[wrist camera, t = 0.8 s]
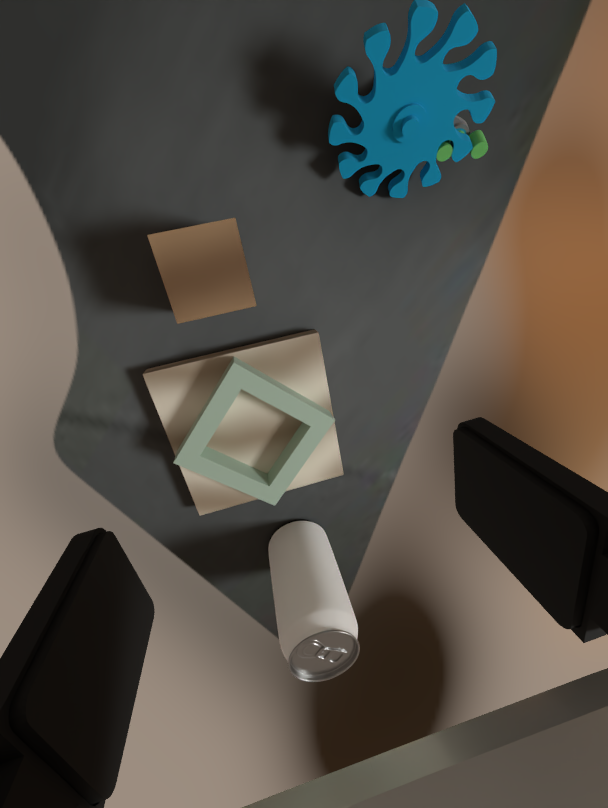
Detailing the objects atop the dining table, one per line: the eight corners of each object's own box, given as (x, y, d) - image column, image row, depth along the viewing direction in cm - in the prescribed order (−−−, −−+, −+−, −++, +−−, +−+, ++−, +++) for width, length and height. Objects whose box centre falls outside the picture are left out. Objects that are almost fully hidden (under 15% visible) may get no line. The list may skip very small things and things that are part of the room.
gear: (303, 174, 23) (395, -43, 15) (299, 123, 25) (377, -90, 17) (429, 226, 27) (555, 81, 19) (415, 178, 30) (523, 30, 21)
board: (146, 368, 27) (142, 374, 26) (314, 329, 29) (318, 332, 27) (200, 505, 33) (199, 515, 31) (339, 466, 34) (343, 474, 33)
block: (166, 242, 24) (147, 234, 19) (234, 229, 25) (235, 217, 20) (188, 312, 26) (177, 323, 21) (251, 298, 27) (256, 305, 21)
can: (288, 509, 35) (313, 618, 24) (337, 530, 37) (381, 638, 26) (256, 554, 36) (266, 677, 25) (305, 572, 39) (334, 691, 28)
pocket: (177, 450, 29) (173, 463, 27) (233, 356, 27) (233, 362, 25) (272, 492, 32) (274, 505, 30) (329, 410, 30) (335, 419, 28)
